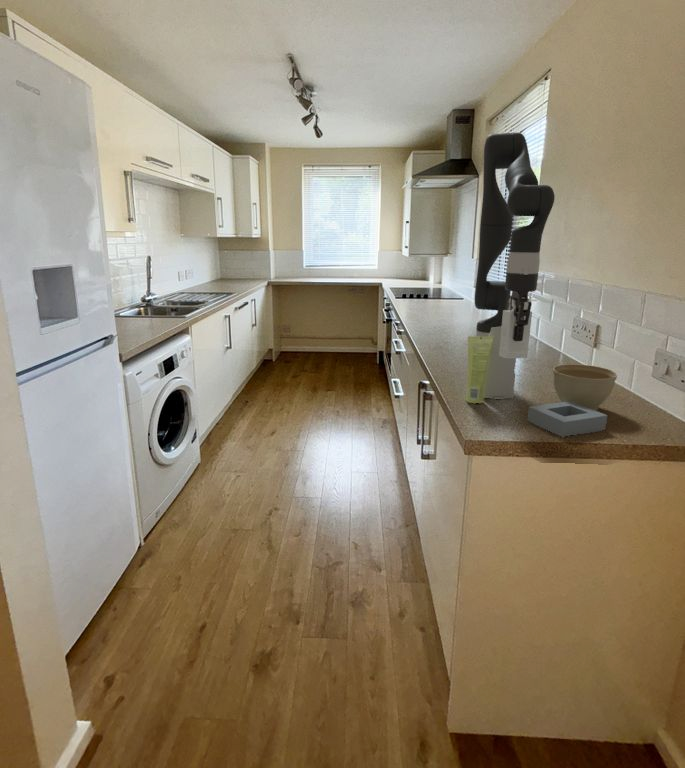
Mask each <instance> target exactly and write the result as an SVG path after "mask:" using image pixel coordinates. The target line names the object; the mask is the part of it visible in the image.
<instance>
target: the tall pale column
mask: <svg viewBox="0 0 685 768" xmlns="http://www.w3.org/2000/svg"><path fill="white" fill-rule="evenodd" d="M501 328H502V326H499V327H492V328H491V331H490V334H489V336H488V337H493V342H492V347H491V352H490V357H489V363H488V369H487V376H486V382H485V390H484V397H483V398H490V399H489V400H496V399H502V400H509V398H512V399H513V398H514V389H515V382H516V381H515V380H516V373H515V370H516V362H517V358H503V357H501V356H500V355H499V350H500V339H501ZM507 398H508V399H507Z"/></svg>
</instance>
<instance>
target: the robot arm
mask: <svg viewBox="0 0 685 768" xmlns="http://www.w3.org/2000/svg"><path fill="white" fill-rule="evenodd" d="M483 146H484V147H483V177H482V178H483V179H482V180H483V181H482V182H483V183H482V184H483V185H482V186H483V187H482V191H483V192H482V203H481V211H480V213H481V214H480V225H479V243H478V244H479V245H478V250H479V251H478V252H479V253H478V265H477V273H476V280H475V281H476V282H475V288H474V289H475V290H474V298H473V299H474V306H475V308H476V309H477V310H482V311H483V310H487V311H497V312H496V313H495V315H493V316H492V317H489V318H484V319H481V320H479V321H478V322H477V324H476V330H475V337H488V336H489V334H490V331H491V328H492V327H499V326H502V317H503V310H513V316H514V317H515V322H514V325H515V326H514V334H513V340H514V341H522V340H523V331H524V326H525V325H528V320H529V315H530V311H531V310H532V304H533V303H532V301H530V299H529V292H530V293H533V292H535V291H537V289H538V288H537V286H538V279H539V271H540V263H541V262H540V261H541V260H540V252H541V244H542V237H543V234H544V229H545V227H546V224H547V221H548V218H549V216H550V214H551V211H552V209H553V206H554V203H555V198H556V197H555V191H554V190H553V187H551V186H550V185H546V184H539V181H538V178H537V176H536V174H535V172H534V170H533V169H532V165H531V159H530V154H529V147H528V143H527V140H526V137H525V135H524V134H522V133H521V132H502V133H499V132H498V133H491V134H489V135H487V137H486V139H485V142H484V145H483ZM506 169H507V170H506ZM496 170H506V171H505V174H504V183H505V186H506V188H507V190H508V196H507V201H506V199H505V198H504V196H503V194H502V192H501V190H500V188H499V184H498V180H497V175H496V173H497V172H496ZM514 216H515V217H533V219H532V221H531V223H529V224H527V225H523V226H519V227H516V228H513V217H514ZM512 228H513V229H512ZM509 243H510V244H509ZM508 244H509V245H510V246H509V253H508V254H509V255H508V257H507V258H508V259H507V263H506V272H505V273H506V274H505V281H503V280H502V281H501V280H500V281H499V280H487V278H488V274H489V272H490V271H491V269H492V267H493V265H494V264H495V262H496V260H497V259H498V258H499V257H500V255H501V254H502V253H503V252H504V250H505V249H506V248H507V246H508ZM511 292H512V293H511ZM516 312H518V313H516ZM521 317H522V318H523V319H522V320H520V319H521Z"/></svg>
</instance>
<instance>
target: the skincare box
mask: <svg viewBox="0 0 685 768" xmlns="http://www.w3.org/2000/svg"><path fill="white" fill-rule="evenodd" d="M516 313H518V312H516ZM532 317H533V311H531V310H530V315H529V320H528V325H525V326H524V331H523V340H522V341H514V340H513V334H514V326H515V325H514V322H515V317H514V316H513V310H503V317H502V328H501V339H500V350H499V355H500V356H501V357H503V358H516V359H526V358H528V354H529V343H530V335H531V325H532ZM522 319H523V318H522V317H521V319H520V320H522Z"/></svg>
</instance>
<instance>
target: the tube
mask: <svg viewBox="0 0 685 768" xmlns="http://www.w3.org/2000/svg"><path fill="white" fill-rule="evenodd" d="M492 342H493V337H476V335H475V336H474V335H473V336H469V335H468V336H467V377H466V393H465V394H466V395H465V401H466V402H467V403H470V404H476V403H479V404H482V403H483V402H484V399H483V397H484V390H485V382H486V376H487V369H488V363H489V357H490V352H491V347H492ZM476 405H477V404H476Z"/></svg>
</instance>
